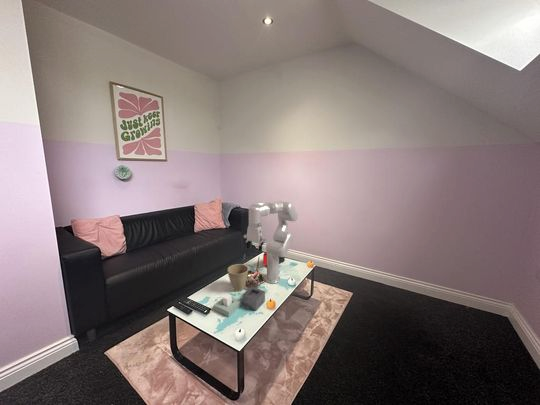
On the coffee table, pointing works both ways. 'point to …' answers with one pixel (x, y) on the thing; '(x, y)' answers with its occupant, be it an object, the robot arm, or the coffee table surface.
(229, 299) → the plug
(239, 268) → the plant pot
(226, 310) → the block
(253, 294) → the dark grey rounded block
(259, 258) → the coffee table surface
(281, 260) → the game console
